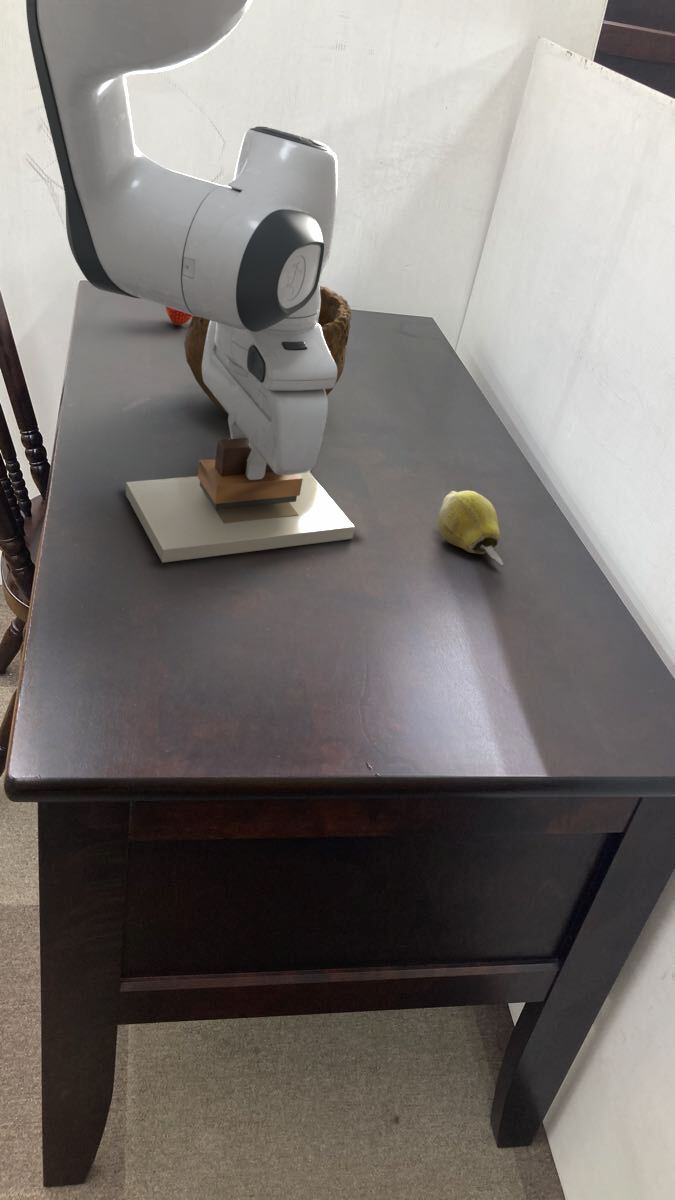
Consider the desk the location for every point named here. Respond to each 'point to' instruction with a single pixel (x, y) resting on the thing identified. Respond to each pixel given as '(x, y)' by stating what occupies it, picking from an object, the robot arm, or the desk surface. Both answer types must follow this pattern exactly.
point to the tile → (231, 520)
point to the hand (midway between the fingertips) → (246, 468)
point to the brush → (243, 479)
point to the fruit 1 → (178, 316)
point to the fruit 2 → (470, 523)
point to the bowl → (330, 319)
